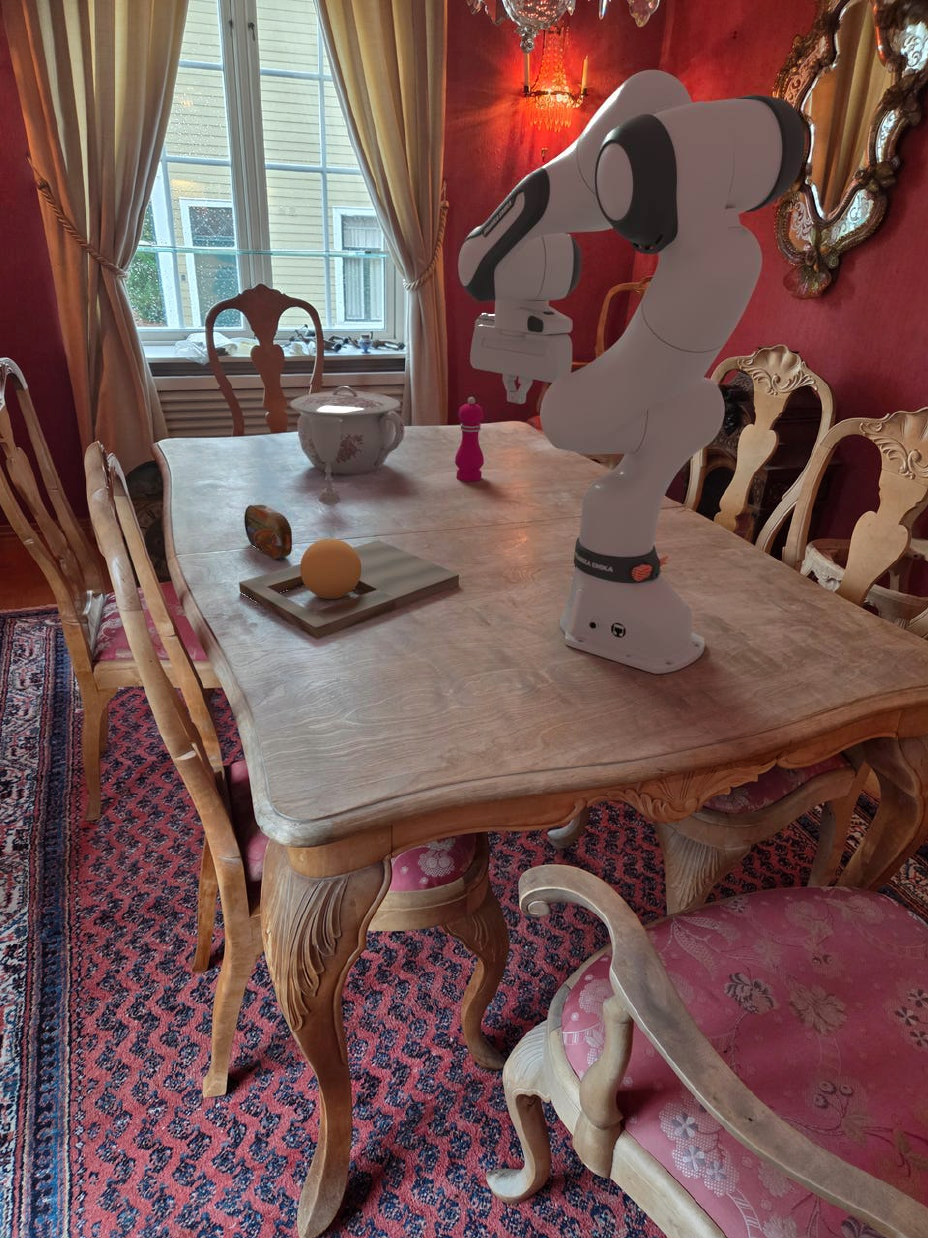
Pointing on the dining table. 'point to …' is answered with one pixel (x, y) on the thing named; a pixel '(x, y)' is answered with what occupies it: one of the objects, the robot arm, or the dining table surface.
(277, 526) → the tin
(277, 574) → the board
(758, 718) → the dining table surface
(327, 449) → the chalice
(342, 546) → the ball
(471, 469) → the pepper mill
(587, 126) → the robot arm
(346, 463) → the chamber pot
